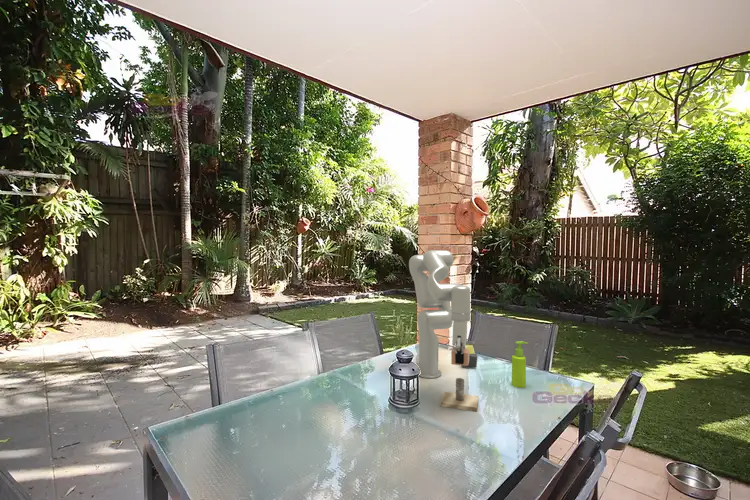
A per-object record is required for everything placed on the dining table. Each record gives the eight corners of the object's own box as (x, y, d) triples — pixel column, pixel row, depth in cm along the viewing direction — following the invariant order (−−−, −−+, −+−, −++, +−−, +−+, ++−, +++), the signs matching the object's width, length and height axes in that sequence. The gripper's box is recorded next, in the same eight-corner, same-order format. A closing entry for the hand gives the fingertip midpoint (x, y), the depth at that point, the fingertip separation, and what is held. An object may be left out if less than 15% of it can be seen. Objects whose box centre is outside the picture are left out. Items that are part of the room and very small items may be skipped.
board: (440, 406, 141) (440, 382, 141) (444, 395, 151) (444, 372, 151) (477, 411, 136) (477, 387, 136) (478, 399, 146) (478, 377, 146)
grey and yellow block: (475, 382, 189) (467, 347, 216) (477, 356, 182) (468, 323, 210) (460, 381, 189) (454, 346, 217) (462, 355, 183) (455, 323, 211)
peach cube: (451, 364, 141) (451, 351, 141) (453, 359, 147) (453, 347, 147) (467, 365, 139) (468, 353, 139) (469, 361, 145) (469, 348, 145)
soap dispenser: (530, 387, 159) (530, 343, 159) (514, 387, 159) (514, 343, 159) (524, 382, 165) (525, 340, 165) (509, 382, 165) (510, 339, 165)
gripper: (453, 312, 153) (453, 354, 153) (448, 319, 136) (448, 366, 136) (471, 313, 150) (471, 355, 150) (468, 321, 134) (468, 368, 134)
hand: (460, 360), depth 143 cm, fingers closed on peach cube, 6 cm apart
